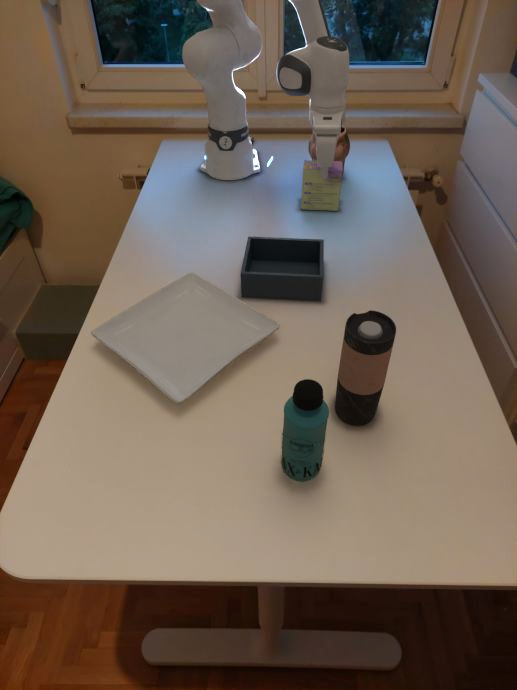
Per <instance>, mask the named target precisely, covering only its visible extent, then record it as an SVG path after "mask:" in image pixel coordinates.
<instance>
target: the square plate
mask: <svg viewBox="0 0 517 690" xmlns="http://www.w3.org/2000/svg"><path fill="white" fill-rule="evenodd" d="M280 326H281V324H280V323H279V322H278V321H276V320H275V319H273V318H272V317H269V316H268V315H266V314H265V313H263V312H261V311H260V310H258V309H256V308H254V307H253V306H251V305H250V304H248V303H245V302H244V301H242V300H241V299H239V298H237V297H236V296H234V295H233V294H230V293H229V292H227V291H225V290H224V289H223V288H221V287H219V286H217V285H216V284H214V283H212V282H211V281H209V280H207V279H205V278H204V277H202V276H201V275H199V274H197V273H195V272H188V273H185V274H184V275H183V276H181V277H179V278H177V279H176V280H174V281H172V282H170V283H168V284H167V285H165V286H163V287H162V288H160V289H158V290H157V291H155V292H154V293H152V294H150V295H148V296H147V297H145V298H143V299H141V300H140V301H138V302H136V303H134V304H133V305H131V306H130V307H128V308H127V309H125V310H123V311H121V312H120V313H118V314H116V315H115V316H113V317H111V318H110V319H109V320H106V321H105V322H103V323H102V324H100V325H98V326H97V327H96V328H94V329H92V330H91V332H90V334H91V336H92V337H93V338H95V339H96V340H97V341H98V342H99V343H100V344H102V345H104V346H105V347H106V348H108V349H109V350H110V351H111V352H113V353H114V354H116V355H117V356H118V357H120V358H121V359H123V361H125V362H126V363H127V364H129V365H130V366H131V367H132V368H133V369H134V370H135V371H137V372H139V374H141V375H142V376H143V377H144V378H145V379H146V380H147V381H149V383H151V384H152V385H153V386H154V387H155V388H156V389H157V390H158V391H159V392H160V393H162V394H163V395H164V396H166V398H168V399H169V400H170V401H171V402H172V403H174V404H175V405H181V404H182V403H184V402H186V401H187V400H188V399H190V398H191V397H192V396H193V395H195V394H196V393H197V392H198V391H200V389H202V388H203V387H204V386H206V384H207V383H209V382H210V381H212V380H213V379H214V378H215V377H217V376H218V375H219V374H220V373H222V371H224V370H225V369H227V368H228V367H229V366H230V365H232V364H233V363H234V362H236V361H237V360H239V359H240V358H241V357H242V356H244V355H245V354H246V353H248V352H249V351H251V350H252V349H254V348H255V347H257V346H258V345H260V344H261V343H262V342H263V341H265V340H266V339H267V338H269V337H270V336H272V335H273V334H274V333H276V332H277V331H278V330H279V329H280Z"/></svg>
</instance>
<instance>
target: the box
mask: <svg viewBox="0 0 517 690" xmlns="http://www.w3.org/2000/svg"><path fill="white" fill-rule="evenodd" d="M342 173H343V174H344V172H343V165H342V162H339V161H333V165H332V167H329V168H328V176H327V178H321V177H320V174H321V168H320V167H318V164H317V161H312V160H309V159H308V160H307V159H304V160H303V167H302V181H301V198H300V199H301V200H300V210H311V211H330V212H331V211H333V212H338V211H339V207H340V201H341V200H340V199H341V190H342V181H343V175H342Z"/></svg>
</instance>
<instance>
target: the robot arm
mask: <svg viewBox="0 0 517 690" xmlns="http://www.w3.org/2000/svg"><path fill="white" fill-rule="evenodd" d="M196 2H197V4H198V5H199V6H201V7H202V8H204V9H206V11H207V13H208V14H209V16H210V19H211V22H212V27H211V28H207V29H204V30H201V31H198V32H196V33H194V34H193V35H192V36H191V37H189V38H188V39H187V40H186V41H185V42H184V43H183V46H182V53H181V56H182V57H181V58H182V62H183V65H184V67H185V70H186V72H187V73H188V74H189V75H190V76H191V77H192V78H194V79H195V80H196V81H197V82H198V83H199V85H200V86H201V88H202V90H203V93H204V96H205V100H206V101H205V102H206V109H207V119H208V124H207V135H208V137H207V138H208V140H207V141H206V142H205V143H204V144H203V145H204V146H203V148H204V155H203V156H204V157H203V158H204V162H203V163H202V164H201V165H200V171H201V172H204V173H205V174H207V175H209V176H210V177H211V178H214V179H215V180H221V181H237V180H242V179H245V178H248V177H250V176H252V175H253V174H258V173H261V170H262V169H261V165H260V161H259V156H258V151H257V150H256V149H254V145H253V144H252V143H253V141H255V138H254V137H250V135H249V132H250V128H249V123H248V121H247V98H246V95H245V93H244V91H242V90H241V89H240V88H238V86H236V84H235V81H234V76H233V75H234V71H237V70H239V69H242V68H246V67H247V66H249V65H250V64H251V63H252V62H254V61H255V60H256V59H258V57H259V56H260V55H261V53H262V49H263V38H262V37H263V36H262V33H261V31H260V29H259V27H258V26H257V25H256V24H255V23H254V22H253V21H252V20H251V19H250V18H249V16H248V14H247V12H246V9H245V6H244V4H243V2H242V0H196ZM288 2H290V3H291V4H292V6H293V7H294V9H295V11H296V13H297V18H298V20H299V24H300V26H301V27H300V28H301V30H302V34H303V37H304V40H305V46H304V47H301V48H297V49H294V50H292V51H289V52H287V53H285V54H284V55H282V56H281V57H280V58H279V60H278V62H277V65H276V71H275V73H276V74H275V75H276V81H277V84H278V86H279V88H280V89H281V91H282V92H283V93H284V94H286V95H287V96H289V97H290V96H291V97H304V96H306V97H308V98H309V109H308V110H309V111H308V112H309V113H308V122H309V124H310V125H311V128H312V132H313V133H314V134H315V138H316V153H317V164H318V167H320V168H321V174H320V177H321V178H327V176H328V168H329V167H332V165H333V161H334V156H335V150H336V144H337V138H338V134H340V133H341V127H342V126H343V125H344V124H345V122H346V112H347V102H348V101H347V94H346V93H347V87H348V85H349V78H350V52H349V47H348V45H347V43H346V42H345V41H344V40H342V39H341V38H339V37H336V36H332V35H331V31H330V29H329V25H328V21H327V17H326V14H325V10H324V6H323V4H322V0H288ZM272 161H274V156H273V155H272V156H271V157H270V159H269V160H268V162H267V163H266V167H267V168H268V167H269V166H270V165H271V164H272Z"/></svg>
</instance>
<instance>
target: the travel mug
mask: <svg viewBox="0 0 517 690" xmlns="http://www.w3.org/2000/svg"><path fill="white" fill-rule="evenodd" d="M396 335H397V326H396V324H395V321H394V320H393V319H392V318H391V317H390V316H389V315H387V314H385V313H383V312H381V311H377V310H373V309H371V310H368V311H366V312H362V313H356V312H354V313H352V314H350V316H348V318H347V319H346V321H345V326H344V332H343V339H342V346H341V351H340V358H339V365H338V370H337V379H336V389H335V400H334V412H335V415H336V417H337V418H338V419H339V420H340V421H341V422H343V423H344V424H346V425H349V426H351V427H362V426H366V425H368V424H370V423H371V422H372V421H373V420H374V419H375V416H376V414H377V410H378V407H379V403H380V399H381V397H382V393H383V390H384V387H385V382H386V379H387V373H388V369H389V366H390V361H391V356H392V352H393V347H394V343H395V339H396Z"/></svg>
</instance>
